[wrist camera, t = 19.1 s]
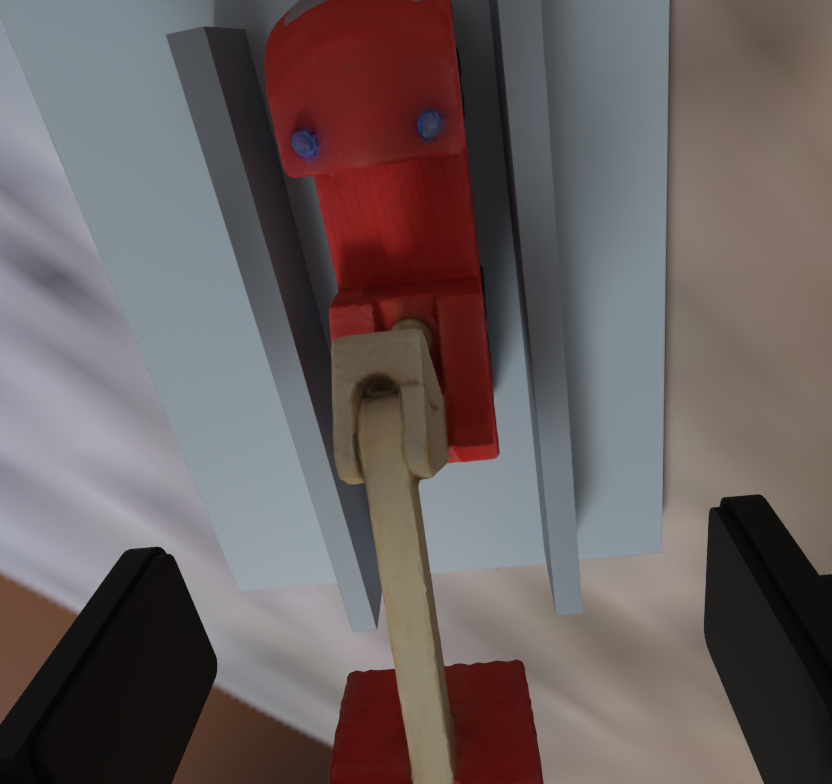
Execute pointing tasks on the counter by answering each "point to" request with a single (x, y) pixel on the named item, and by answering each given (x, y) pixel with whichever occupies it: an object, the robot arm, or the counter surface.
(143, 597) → the robot arm
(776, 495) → the counter surface
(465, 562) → the board
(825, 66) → the counter surface
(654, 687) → the counter surface
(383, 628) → the counter surface
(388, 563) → the toy fire truck
